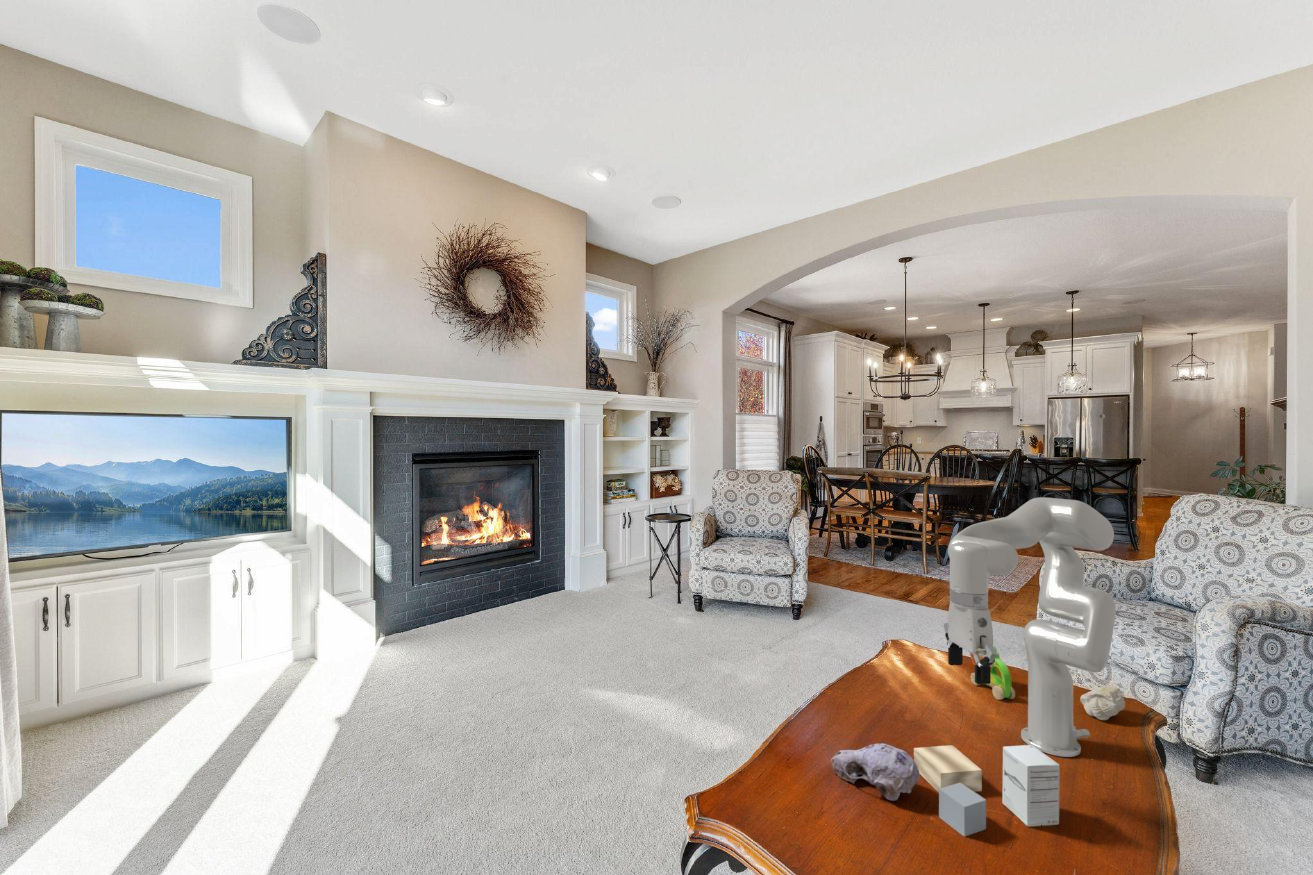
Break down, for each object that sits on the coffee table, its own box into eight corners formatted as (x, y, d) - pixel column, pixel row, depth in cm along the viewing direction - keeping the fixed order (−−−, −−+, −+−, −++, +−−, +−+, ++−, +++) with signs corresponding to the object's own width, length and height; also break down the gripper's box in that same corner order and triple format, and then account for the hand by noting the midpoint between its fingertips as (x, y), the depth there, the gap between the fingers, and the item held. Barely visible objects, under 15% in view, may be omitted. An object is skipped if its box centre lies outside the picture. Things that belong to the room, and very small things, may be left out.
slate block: (960, 810, 116) (960, 782, 116) (986, 829, 111) (986, 799, 111) (939, 817, 114) (939, 788, 114) (964, 837, 109) (964, 806, 109)
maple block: (952, 765, 133) (952, 745, 133) (981, 792, 123) (981, 769, 123) (913, 768, 131) (913, 747, 131) (940, 795, 121) (940, 773, 121)
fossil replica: (1081, 719, 154) (1127, 732, 149) (1085, 692, 153) (1131, 704, 148) (1076, 699, 164) (1119, 710, 159) (1079, 673, 164) (1123, 683, 158)
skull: (825, 780, 129) (822, 736, 130) (853, 764, 136) (850, 722, 137) (905, 815, 114) (900, 764, 115) (931, 794, 121) (927, 747, 122)
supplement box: (1001, 803, 118) (1001, 745, 118) (1032, 801, 119) (1033, 743, 119) (1026, 827, 111) (1027, 765, 111) (1060, 825, 112) (1061, 763, 112)
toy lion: (1016, 701, 164) (1016, 651, 164) (1000, 702, 164) (1000, 651, 164) (980, 678, 180) (980, 632, 180) (964, 679, 180) (964, 633, 180)
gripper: (1011, 609, 115) (1011, 691, 115) (960, 587, 132) (960, 657, 132) (977, 610, 115) (977, 691, 115) (931, 587, 132) (930, 658, 132)
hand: (968, 673), depth 123 cm, fingers open, 9 cm apart
